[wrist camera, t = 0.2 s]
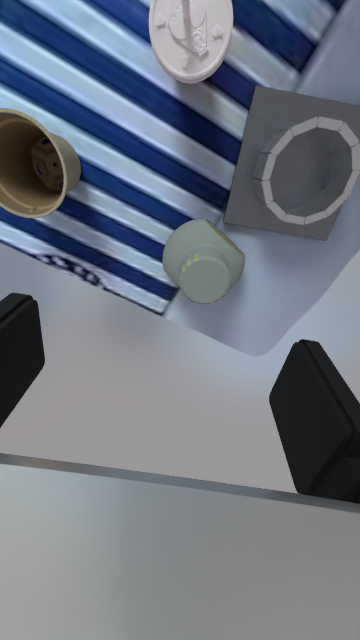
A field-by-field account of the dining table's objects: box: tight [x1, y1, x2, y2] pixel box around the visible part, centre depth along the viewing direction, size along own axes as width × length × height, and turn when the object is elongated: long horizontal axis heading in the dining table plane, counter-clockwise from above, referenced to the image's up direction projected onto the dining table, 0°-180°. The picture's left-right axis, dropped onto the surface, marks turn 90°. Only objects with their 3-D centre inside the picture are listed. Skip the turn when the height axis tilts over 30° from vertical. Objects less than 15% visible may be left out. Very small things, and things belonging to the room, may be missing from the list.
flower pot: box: [0, 108, 81, 218], centre depth 30 cm, size 9×9×9 cm
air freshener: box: [163, 218, 245, 304], centre depth 35 cm, size 11×8×10 cm
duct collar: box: [223, 85, 360, 241], centre depth 31 cm, size 14×14×6 cm
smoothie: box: [149, 0, 233, 85], centre depth 23 cm, size 6×6×14 cm
